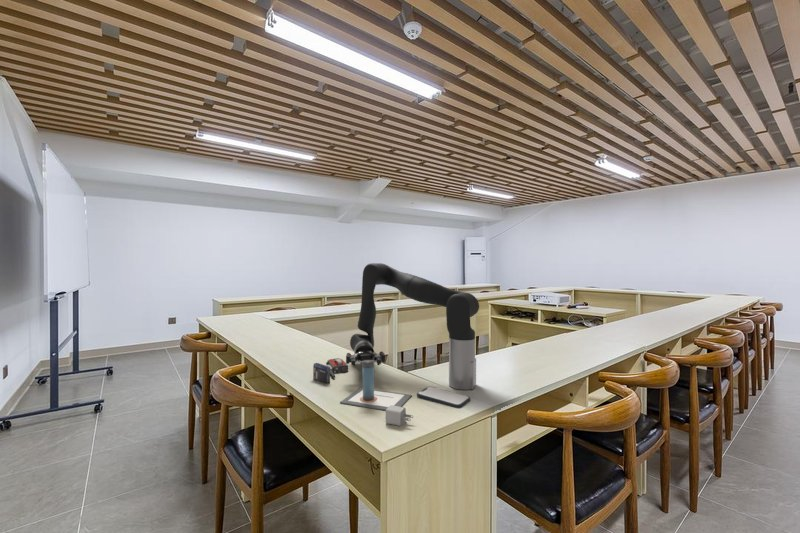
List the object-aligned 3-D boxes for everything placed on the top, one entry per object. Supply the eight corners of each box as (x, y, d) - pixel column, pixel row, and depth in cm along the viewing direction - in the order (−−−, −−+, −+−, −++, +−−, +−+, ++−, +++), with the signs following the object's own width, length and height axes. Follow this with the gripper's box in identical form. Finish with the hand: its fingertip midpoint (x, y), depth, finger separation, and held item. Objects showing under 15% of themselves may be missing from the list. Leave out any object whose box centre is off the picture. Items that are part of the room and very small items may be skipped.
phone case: (471, 401, 115) (429, 390, 124) (471, 396, 115) (429, 385, 124) (459, 411, 108) (415, 398, 117) (459, 405, 107) (415, 393, 117)
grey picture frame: (411, 396, 118) (411, 394, 118) (396, 412, 105) (396, 410, 105) (360, 388, 125) (360, 386, 125) (340, 403, 112) (340, 401, 112)
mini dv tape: (313, 379, 135) (313, 363, 135) (316, 378, 136) (316, 362, 136) (326, 384, 130) (326, 367, 129) (330, 383, 131) (330, 366, 131)
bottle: (376, 397, 115) (375, 360, 114) (371, 401, 111) (370, 363, 111) (365, 395, 116) (365, 359, 116) (360, 400, 112) (359, 362, 112)
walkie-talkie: (321, 366, 153) (331, 380, 134) (321, 356, 153) (331, 369, 134) (341, 364, 156) (353, 377, 138) (341, 354, 156) (353, 366, 138)
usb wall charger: (391, 418, 101) (391, 404, 101) (414, 422, 98) (414, 408, 98) (385, 424, 97) (385, 409, 97) (409, 428, 95) (409, 413, 95)
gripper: (345, 342, 139) (346, 353, 123) (382, 341, 141) (386, 351, 125) (346, 361, 139) (346, 374, 123) (382, 360, 141) (386, 372, 125)
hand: (366, 363), depth 124 cm, fingers open, 8 cm apart
